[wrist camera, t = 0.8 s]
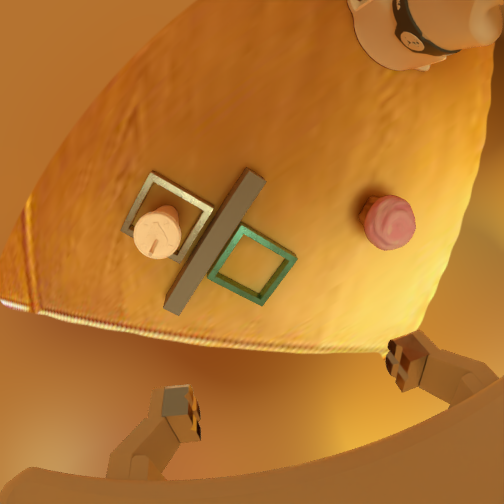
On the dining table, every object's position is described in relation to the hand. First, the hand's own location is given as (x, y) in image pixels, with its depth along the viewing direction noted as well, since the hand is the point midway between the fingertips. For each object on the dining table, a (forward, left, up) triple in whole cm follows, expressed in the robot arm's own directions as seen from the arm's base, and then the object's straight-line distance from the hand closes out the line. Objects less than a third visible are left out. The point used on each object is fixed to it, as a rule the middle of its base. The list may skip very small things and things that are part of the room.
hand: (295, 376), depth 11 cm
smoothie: (+9, -7, -39) cm, 40 cm away
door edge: (+9, +1, -39) cm, 40 cm away
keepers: (+9, +1, -39) cm, 40 cm away
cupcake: (-10, +22, -39) cm, 46 cm away
